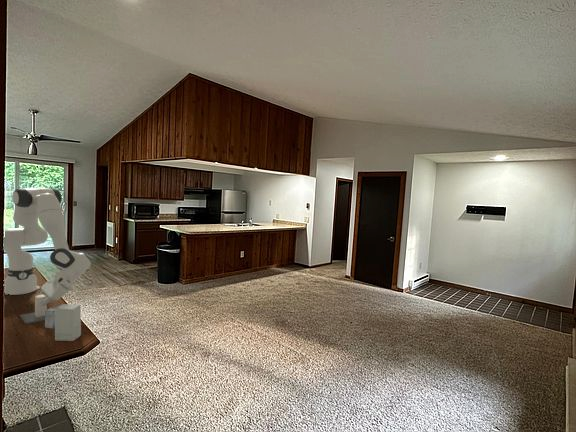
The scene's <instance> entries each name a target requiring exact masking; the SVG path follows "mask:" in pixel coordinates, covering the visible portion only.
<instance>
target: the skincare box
mask: <svg viewBox="0 0 576 432" xmlns="http://www.w3.org/2000/svg"><path fill="white" fill-rule="evenodd" d="M59 305H60V306H59ZM59 305H58V306H59V307H57V308H55V309H54V317H55V328H54V340H55V342H56V341H59V342H60V341H61V342H63V341H64V342H66V341H67V342H74V341H76V339H78V338H79V337H81V336H82V321H81V320H82V319H81V318H82V316H81V304H67V303H64V304H63V303H62V304H59Z"/></svg>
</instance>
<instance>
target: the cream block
mask: <svg viewBox="0 0 576 432" xmlns="http://www.w3.org/2000/svg"><path fill="white" fill-rule="evenodd" d="M47 297H48V295H47V294H43V295H39V294H38V295H36V294H35V297H34V312H35V316H36V317H41V316H45V310H47V309H48V305H47V304H48V303H47V304H46V305H45V306H42V305H41V304H40V303H41V302H42V301H44V300H46V299H47Z"/></svg>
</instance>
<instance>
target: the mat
mask: <svg viewBox="0 0 576 432" xmlns="http://www.w3.org/2000/svg"><path fill="white" fill-rule="evenodd" d="M19 317H20V319H21V320H22V321H23V323H24V325H29V324H33V323H38V322H43V321H44V322H45V316H41V317H36V316H35V311H34V312H30V313H28V312H27V313H23V314H20V316H19Z"/></svg>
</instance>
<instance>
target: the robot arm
mask: <svg viewBox="0 0 576 432" xmlns="http://www.w3.org/2000/svg"><path fill="white" fill-rule="evenodd" d="M62 200H63V198H62V193H61V192H60V191H59V189H56V188H51V187H50V188H47V187H29V188H27V187H26V188H25V187H21V188H16V189H14V191H13V192H12V202H13V204H14V205H15V207H14V212H13V217H12V220H13V221H14V223H15V224H17V225H18V226H22V227H16V228H15V227H12V228H11V227H10V228H4V229H5V237H4V250H3V251H4V252H5V253H6V256H7V258H8V269H7V276H6V278H5V279H4V281H5V284H4V285H5V294H4V295H8V294H9V296H12V295H13V296H15V295H17V296H18V295H19V296H20V295H24V294H25V295H26V294H29V293H33V292H35V291H37V290H40V289H41V291H40V293H39V294H38V295H43V294H45V295H46V296H47V299H46V300H44V301H42V302H41V303H40V304H41V305H42V306H45V305H46V304H48V303H51V302H52V301H54V302H56V301H59V300H60V299H61V298H63V297H64V296H65V295H66V294H67V293H68V292H69V291H72V289H73V288H74V283H75V282H76V281H77V279H78V278H79V277H80V276H82V275H83V274H84V273H85V272H86V271H87V270H88V269H89V268H90V267H91V265H92V260H91V259H90V257H89V256H88V255H87V254H86V253H84V252H76V251H72V250H70V247H69V244H68V240H67V236H66V232H65V231H66V230H65V218H64V213H63V209H62V206H61V203H62ZM39 223H40V224H39ZM49 236H50V239H51V241H52V244H53V246H54V247H53V248H54V250H53V251H52V252H51V253H50V257H49V259H50V262H51V264H53V265H54V266H55V267H56V268H57V269H58V270H60V271H59V272H58V273H56V274H55V275H53V277H51V278H50V279H48V281H46V282H45V283H44V284H42V286H39V285H37V284H38V283H37V282H38V281H37V276H36V275H35V274H34V272H35V269H34V266H33V265H34V256H33V255H32V253H30V252H29V251H25V250H23V249H22V247H26V246H27V247H28V246H37V245H41V244H45V242H47V240H48V237H49Z"/></svg>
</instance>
